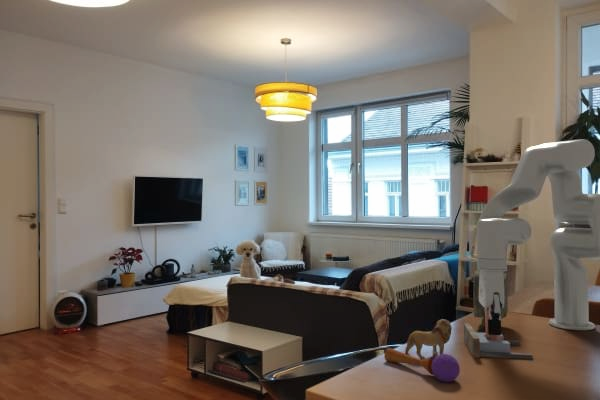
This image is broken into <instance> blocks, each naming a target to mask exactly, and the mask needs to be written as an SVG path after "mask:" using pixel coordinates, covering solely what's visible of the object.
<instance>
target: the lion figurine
mask: <svg viewBox="0 0 600 400" xmlns="http://www.w3.org/2000/svg"><path fill="white" fill-rule="evenodd" d="M451 335H452V325H451V323H450V321H449V320H447V319H443V318H441V319H439V320H438V321H436V325H435V326H434V328H433V329H432V330H430V331H423V330H422V331H421V330H415V331H413V332H412V333H410V334H409V336H408V338H407V342H406V346H405V350H404V354H407V355H410V356H411V354H410V353H409V352H410V350H411V349H413V347H415V348H416V352H415V353H416V355H417V356H418V359H420V360H423V359H426V358H425V356H423V355H422V353H421V351H422V348H423V346H427V347H432V354H433V355H434V356H437V355H441V354H444V351H445V345H446V344H447V343H448V342H449V341H450V340H451ZM437 346H438V347H439V353H438V352H437V351H438V350H437Z"/></svg>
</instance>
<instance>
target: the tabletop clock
mask: <svg viewBox="0 0 600 400" xmlns="http://www.w3.org/2000/svg"><path fill="white" fill-rule="evenodd" d="M503 275H504V297H505V301H504V308H503V309H501V308H500V310H501V320H502V319H504V318H506V317H507V315H508V308H509V307H508V306H509V305H508V303H509V296H508V295H509V294H508V293H509V292H508V288H509V287H508V284H509V283H508V274H507V273H505V272H503ZM479 277H480V270H478V269H477V270H475V271H474V274H473V280H472V281H473V282H472V283H473V285H472V286H473V287H472V288H473V290H472V291H473V292H472V293H473V295H472V296H473V303H472V304H473V317H474V318H479V319H480V318H481V320H480V321H481V323H480V324H478V325H477V329H478V331H482V330H484V326H483V325H485V307H483V306H482V305H481V303H480V302H479Z"/></svg>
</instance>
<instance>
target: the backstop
mask: <svg viewBox="0 0 600 400" xmlns="http://www.w3.org/2000/svg"><path fill="white" fill-rule="evenodd" d="M475 332H476V331H475V329H473V327H472V325H471V324H470V323H469V322H463V342H464V343H465V345H466V346H467V349H468V351H469V352H470V355H472V358H473V359H480V358H481V357H484V358H486V357H488V358H502V359H505V358H506V359H521V360H522V359H523V360H524V359H525V360H533V359H534V357H533V356H534V355H533V354H532V353H519V352H518V353H517V352H510V353H502V352H482V351H480V338H479V337H478V336H477V334H476V333H475ZM503 341H508V342H509V343H510V346H521V341H520V340H511V339H503Z"/></svg>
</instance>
